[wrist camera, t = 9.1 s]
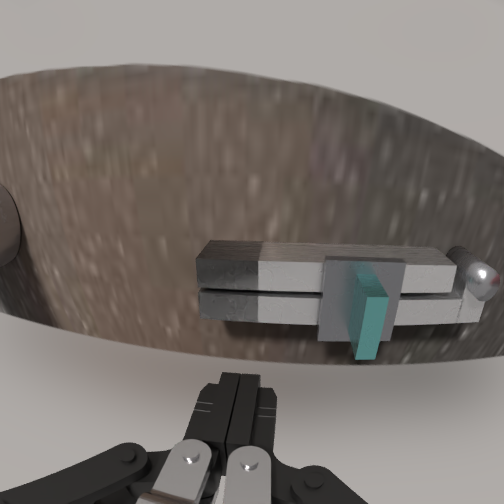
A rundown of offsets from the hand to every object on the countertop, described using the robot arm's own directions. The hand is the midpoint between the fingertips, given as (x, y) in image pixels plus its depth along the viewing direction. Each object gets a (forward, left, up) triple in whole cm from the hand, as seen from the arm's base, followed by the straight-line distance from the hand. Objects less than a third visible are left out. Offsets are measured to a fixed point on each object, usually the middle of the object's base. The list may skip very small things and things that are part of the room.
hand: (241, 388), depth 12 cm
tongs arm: (+4, -2, -13) cm, 14 cm away
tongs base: (+5, -4, -13) cm, 14 cm away
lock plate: (+5, -4, -9) cm, 11 cm away
